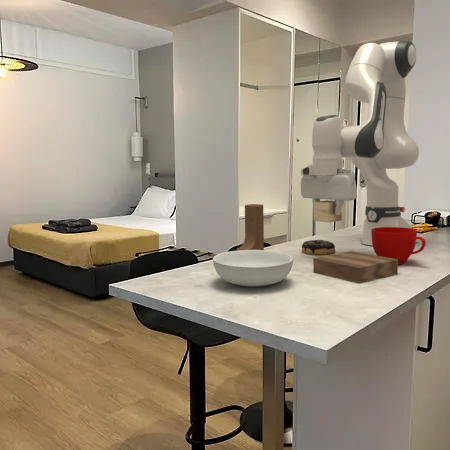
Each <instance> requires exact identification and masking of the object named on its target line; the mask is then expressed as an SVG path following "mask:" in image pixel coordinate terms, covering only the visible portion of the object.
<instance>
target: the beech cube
mask: <svg viewBox="0 0 450 450" xmlns="http://www.w3.org/2000/svg"><path fill="white" fill-rule="evenodd" d="M336 206H337V204H336V200H328V199H324V200H320V201H317V202H314V204H313V221H314V222H322V223H333V222H340V221H341V222H342V221H343V213H342V212H343V211H342V210H343V209H342V208H343V207H342V208H341V214H340V215H334V214H333V209H335V208H336Z"/></svg>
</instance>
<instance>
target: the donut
mask: <svg viewBox="0 0 450 450" xmlns="http://www.w3.org/2000/svg"><path fill="white" fill-rule="evenodd" d="M335 248H336V246H335V244H334V243H333V242H331V241H329V240H324V239H311V240H306V241H303V243H302V244H301V251H302V253H304V254H306V255H313V256H328V255H332V254H333V253H334V252H335V251H336V249H335Z"/></svg>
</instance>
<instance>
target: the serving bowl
mask: <svg viewBox="0 0 450 450" xmlns="http://www.w3.org/2000/svg"><path fill="white" fill-rule="evenodd" d="M212 262H213V267H214V269H215V273H217V275H218V276H219V277H220V278H221V279H223V280H224V281H226V282H227V283H231V284H233V285H238V286H241V287H246V288H247V287H248V288H259V287H266V286H269V285H273V284H276V283H279V282H281V281H282V280H284V279H286V278H287V276H288V275H289V274H290V272H291V270H292V269H293V264H294V263H293V262H294V257H293V256H292V255H290V254H289V253H285V252H282V251H275V250H268V249H264V250H239V251H237V250H231V251H226V252H221V253H218V254H216V255H214V256H213V257H212Z"/></svg>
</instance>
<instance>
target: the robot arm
mask: <svg viewBox="0 0 450 450" xmlns="http://www.w3.org/2000/svg"><path fill="white" fill-rule="evenodd" d="M416 61H417V49H416V46H415V45H414V43H413V42H412V41H411V40H407V39H406V40H405V39H404V40H403V39H402V40H399V41H388V42H382V43H380V44H378V43H376V42H367V43H365V44H362V45H361V46H359V48H358V49H357V50H356V51H355V53H354V54H353V55H352V58H351V63H350V65H349V68H348V70H347V73H346V75H345V81H344V88H345V91H346V93H347V94H349V96H350V97H352V99H354V100H355V101H358V102H362V103H366V104H368V111H367V119H366V122H364V123H362V124H359V125H350V126H345V125H344V124H342V123H341V118H340V116H339V115H337V114H329V115H323V116H319V117H316V119H315V120H314V122H313V127H312V133H311V134H312V136H311V138H312V139H311V143H312V149H313V157H312V163H310V164H308V165H307V166H304V167H303V168H301V169H300V175H301V176H302V177H301V179H300V195H301V197H302V198H303V199H311V200H312V204H313V205H314V202H317V201H321V200H331V201H336V204H337V206H336V208H335V209H333V214H334V215H340V214H341V208H343V206H344V204H345V203H344V202H351V201H355V200H356V198H357V196H358V194H357V193H358V192H357V184H356V182H357V181H356V175H355V172H354V171H353V170H352V169H350V168H345V169H344V168H343V158H350V160H351V163H352V164H353V166H354V167H356V168H357V169H358V171H360V173H361V175H362V176H363V179H364V182H365V187H366V206H365V210H364V212H365V214H364V215H365V216H366V217H365V219H364V222H363V228H362V236H361V237H360V239H359V241H360V242H361V244H363V245H366V246H372V247H373V245H372V235H371V230H372V229H373V228H379V227H403V228H411V229H413V228H412V226H411V224H409V223H408V221H406V220H405V219H404V218H403V217H402V214H401V213H405V211H406V207H405V206H399V186H398V183H396V181H394V180H392V179H391V178H390V177H389V176H388V173H387V170H388V169H389V170H391V169H392V170H393V169H394V170H396V169H398V170H399V169H400V170H401V169H404V168H408V167H411V166H413V165H415V164H416V163H417V161H418V159H419V155H420V149H419V145H418V143H417V141H415V140H414V139H413V138H412V137H411V136H410V135H409V133H408V132H407V129H406V126H405V122H404V119H405V118H404V117H405V105H406V104H405V103H406V87H407V86H406V77H407V76H408V74H409V73H410V72H411V71H412V70H413V68H414V66H415V64H416ZM419 241H420V239H416V243H419Z"/></svg>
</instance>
